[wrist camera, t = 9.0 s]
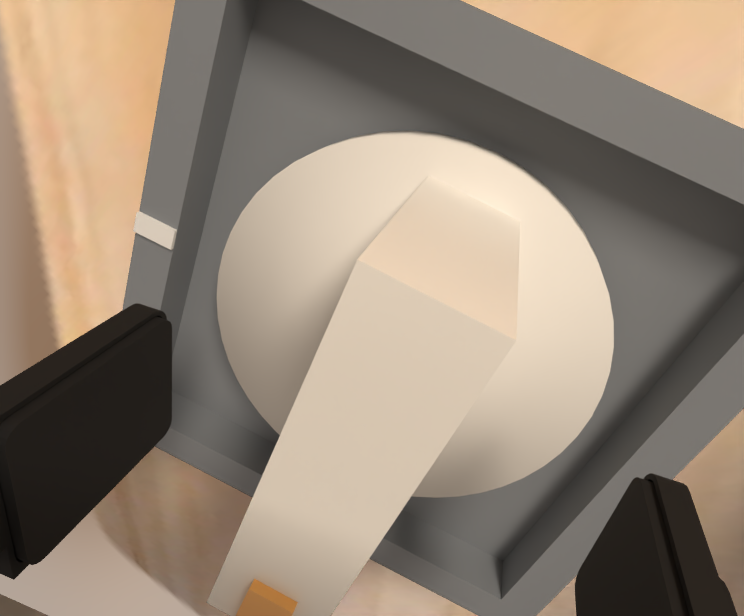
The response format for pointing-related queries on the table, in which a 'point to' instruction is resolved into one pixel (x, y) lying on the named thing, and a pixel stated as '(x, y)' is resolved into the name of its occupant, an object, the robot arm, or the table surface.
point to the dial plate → (514, 141)
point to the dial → (398, 349)
